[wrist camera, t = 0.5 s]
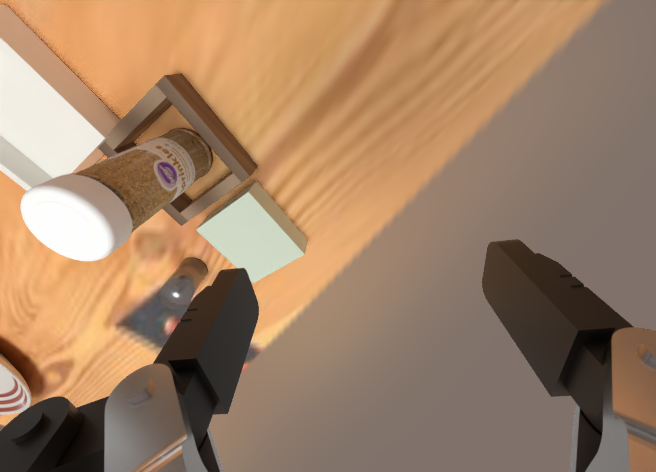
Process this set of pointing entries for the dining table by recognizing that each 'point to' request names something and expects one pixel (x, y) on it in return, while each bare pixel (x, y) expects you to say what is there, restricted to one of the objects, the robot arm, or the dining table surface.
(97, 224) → the sprinkles bottle
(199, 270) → the cylinder
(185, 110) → the socket block
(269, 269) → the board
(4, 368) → the dinner plate
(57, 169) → the tray
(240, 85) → the dining table surface
